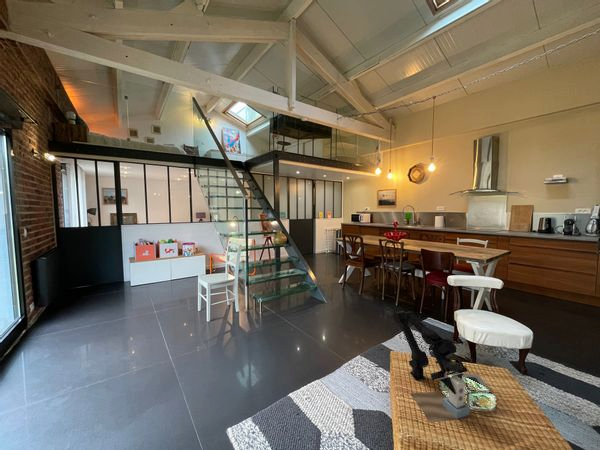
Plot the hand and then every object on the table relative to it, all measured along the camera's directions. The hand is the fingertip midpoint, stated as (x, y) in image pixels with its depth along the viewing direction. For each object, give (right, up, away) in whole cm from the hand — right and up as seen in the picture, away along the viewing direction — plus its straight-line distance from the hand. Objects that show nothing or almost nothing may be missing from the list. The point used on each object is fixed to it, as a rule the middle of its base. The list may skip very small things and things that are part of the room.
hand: (459, 393), depth 115 cm
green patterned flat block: (+22, -10, +19) cm, 31 cm away
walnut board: (-7, -11, +5) cm, 13 cm away
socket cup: (0, -10, +2) cm, 10 cm away
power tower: (0, -6, +2) cm, 7 cm away
